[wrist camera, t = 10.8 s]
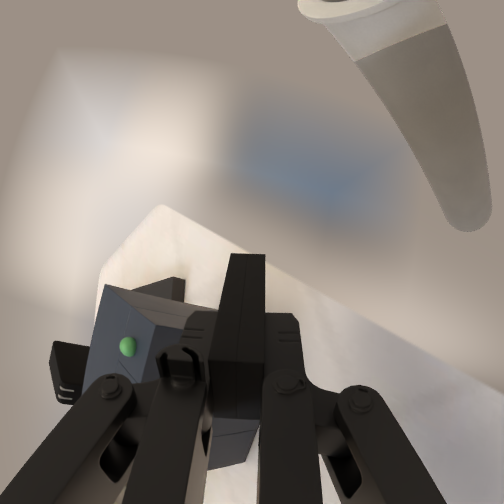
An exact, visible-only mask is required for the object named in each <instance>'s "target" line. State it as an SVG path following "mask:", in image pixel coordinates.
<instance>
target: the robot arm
mask: <svg viewBox="0 0 504 504" xmlns="http://www.w3.org/2000/svg"><path fill="white" fill-rule="evenodd" d="M322 1H325V2H341V1H347V0H322ZM155 359H156V363H157V367H158V371H159V375H160V378H159V379H156V380H154V381H149V382H142V383H133V384H132V383H131V381H130V380H129V378H127V377H126V376H124V375H122V374H117V373H110V374H105V375H103V376H100V377H99V378H97V379H96V380H95V381H94V382H93V383H92V384H91V385H90V386H89V387H88V389H87V390H86V391H85V392H84V393H83V394H82V396H81V397H80V398H79V399H78V400H77V401H76V403H75V404H74V405H73V406H72V407H71V409H70V410H69V411H68V412H67V413H66V415H65V416H64V417H63V418H62V419H61V420H60V422H59V423H58V424H57V425H56V426H55V428H54V429H53V430H52V431H51V433H50V434H49V435H48V436H47V437H46V439H45V440H44V441H43V442H42V444H41V445H40V446H39V447H38V448H37V450H36V451H35V452H34V454H33V455H32V456H31V457H30V458H29V459H28V461H27V462H26V463H25V464H24V466H23V467H22V468H21V470H20V471H19V472H18V473H17V475H16V476H15V477H14V478H13V480H12V481H11V482H10V483H9V485H8V486H7V487H6V489H5V490H4V491H3V492H2V494H1V495H0V504H114V503H115V501H116V499H117V498H118V496H119V495H120V493H121V491H122V490H123V488H124V486H125V485H126V483H127V482H128V483H127V486H126V490H125V493H124V497H123V500H122V504H203V498H204V490H205V483H206V476H207V469H208V461H209V454H210V447H211V440H212V433H213V430H212V417H213V413H214V418H226V419H243V420H260V429H259V443H258V446H259V452H258V479H257V504H323V499H322V488H321V476H320V466H319V456H318V454H321V456H322V458H323V461H324V463H325V465H326V468H327V470H328V473H329V475H330V477H331V480H332V482H333V485H334V487H335V489H336V492H337V494H338V496H339V499H340V501H341V504H447V503H446V501H445V500H444V498H443V496H442V495H441V493H440V491H439V490H438V488H437V486H436V484H435V483H434V481H433V479H432V478H431V476H430V474H429V473H428V471H427V469H426V468H425V466H424V464H423V463H422V461H421V459H420V458H419V456H418V454H417V453H416V451H415V449H414V448H413V446H412V445H411V443H410V441H409V440H408V438H407V436H406V435H405V433H404V432H403V430H402V428H401V427H400V425H399V424H398V422H397V420H396V419H395V417H394V416H393V414H392V412H391V411H390V409H389V408H388V406H387V404H386V403H385V401H384V400H383V398H382V396H381V395H380V394H379V393H378V392H377V391H376V390H374V389H372V388H370V387H367V386H362V385H355V386H350V387H348V388H345V389H344V390H343V391H342V392H341V393H335V392H331V391H326V390H323V389H320V388H318V387H317V386H315V385H313V384H312V383H311V382H310V381H309V379H308V378H307V376H306V373H305V368H304V359H303V351H302V344H301V336H300V328H299V322H298V321H297V319H296V318H295V317H294V315H293V314H292V313H265V254H237V253H231V255H230V259H229V264H228V268H227V273H226V277H225V282H224V286H223V291H222V295H221V300H220V305H219V309H218V312H215V311H198V310H195V311H194V312H193V313H192V314H191V315H190V316H189V317H188V318H187V320H186V323H185V326H184V330H183V332H182V335H181V338H180V341H179V344H173V345H170V346H167V347H165V348H163V349H162V350H160V351H159V352H158V354H157V355H156V357H155Z"/></svg>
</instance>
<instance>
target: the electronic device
mask: <svg viewBox="0 0 504 504" xmlns="http://www.w3.org/2000/svg"><path fill="white" fill-rule="evenodd" d="M89 350H90V347H89V346H82V345H77V344H71V343H66V342H61V341H54V342H53V346H52V351H51V356H50V360H49V366H50V370H51V376H52V381H53V385H54V390H55V394H56V398H57V400H58V402H60V403H62V404H68V405H74V404H75V403H76V401H77V400H78V399H79V398H80V397H81V395H82V389H83V383H84V377H85V371H86V365H87V360H88V355H89Z"/></svg>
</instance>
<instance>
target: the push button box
mask: <svg viewBox="0 0 504 504" xmlns="http://www.w3.org/2000/svg"><path fill="white" fill-rule="evenodd" d="M184 283H185V280H184V279H180V278H176V277H171V278H167V279H164V280H161V281H158V282H155V283H152V284H149V285H145V286H142V287H139V288H136V289H133V290H131V291H135V292H139V293H144V294H148V295H152V296H156V297H161V298H165V299H169V300H174V301H178V302H183V298H184Z"/></svg>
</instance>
